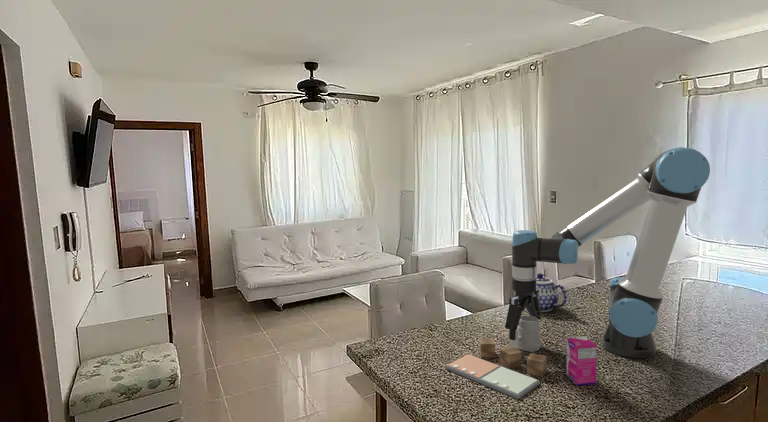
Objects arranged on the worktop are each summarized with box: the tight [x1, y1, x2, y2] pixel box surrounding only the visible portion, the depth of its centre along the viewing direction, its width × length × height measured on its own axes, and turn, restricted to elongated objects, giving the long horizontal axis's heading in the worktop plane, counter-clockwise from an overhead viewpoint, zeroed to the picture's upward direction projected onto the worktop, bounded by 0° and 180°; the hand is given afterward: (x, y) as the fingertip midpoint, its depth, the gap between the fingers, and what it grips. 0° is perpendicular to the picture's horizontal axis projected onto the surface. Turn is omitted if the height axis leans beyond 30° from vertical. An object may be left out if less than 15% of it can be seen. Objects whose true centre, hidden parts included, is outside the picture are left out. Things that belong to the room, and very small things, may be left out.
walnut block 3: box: [526, 352, 548, 378], centre depth 125 cm, size 4×4×4 cm
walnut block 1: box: [478, 337, 496, 359], centre depth 137 cm, size 4×4×4 cm
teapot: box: [536, 272, 568, 313], centre depth 180 cm, size 25×15×15 cm, turn 30°
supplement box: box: [566, 336, 597, 387], centre depth 119 cm, size 6×6×12 cm
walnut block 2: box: [499, 346, 522, 370], centre depth 130 cm, size 4×4×4 cm
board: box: [445, 354, 540, 400], centre depth 123 cm, size 24×11×1 cm, turn 42°
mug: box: [507, 314, 542, 353], centre depth 140 cm, size 8×12×12 cm, turn 113°
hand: (523, 343), depth 141 cm, fingers closed on mug, 11 cm apart
